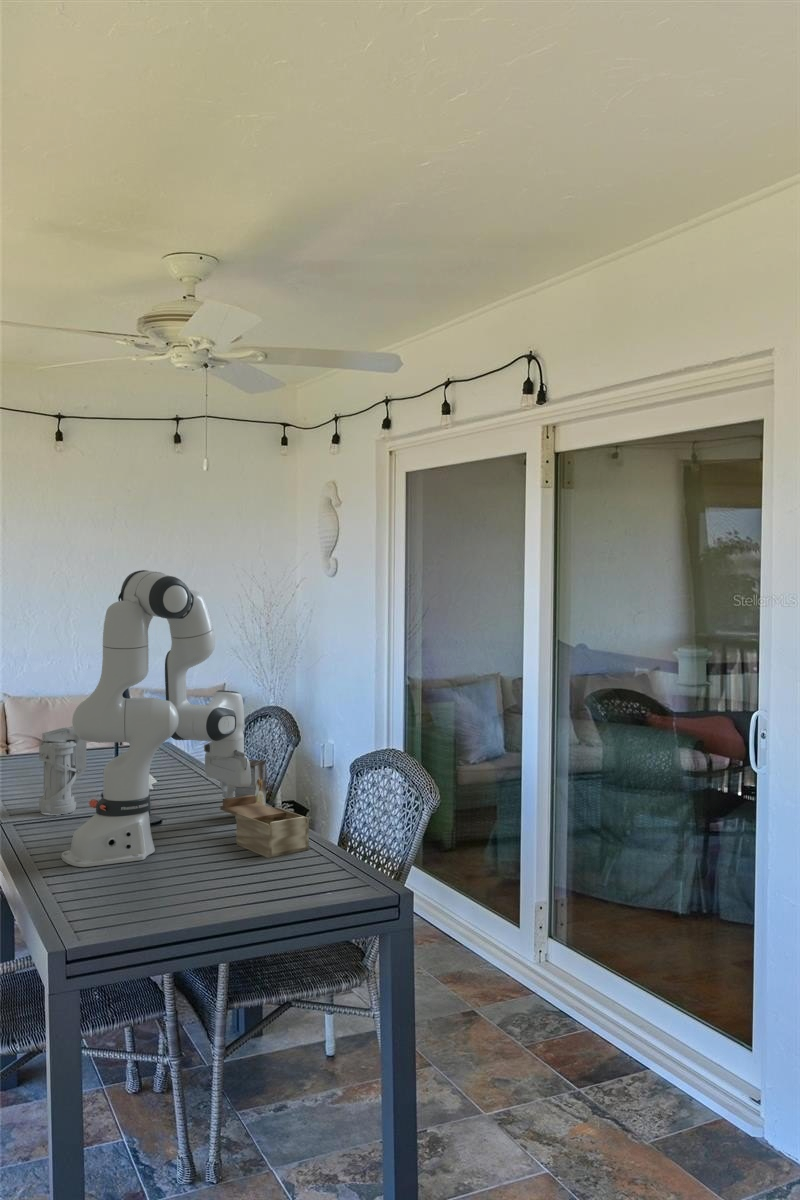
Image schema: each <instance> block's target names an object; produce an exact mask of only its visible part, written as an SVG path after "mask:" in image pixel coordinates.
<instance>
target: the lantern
mask: <svg viewBox="0 0 800 1200" xmlns="http://www.w3.org/2000/svg"><path fill="white" fill-rule="evenodd" d="M41 736H42V738H41V739H42V740H41V741H40V742H38V745H39V746H38V747H39V749H38V752H39V755H38V759H39V761H41V762H43V794H42V796H40V798H39V800H38V803H39V804H38V805H39V812H40V811H41V812H43V813H50V814H61V813H68V812H72V811H74V810H75V811H76V808H77V801H75V796H74V795H73V784H74V783H75V781H76V780H77V779H78V778H81V776H82V775H83V773H84V772H85V771H86V770H87V741H86V740H81V739H80V738H79V737H78V736H77V735H76V733H75V731H74V729H73V725H72V726H65V727H61V728H57V729H53V730H49V731H45V732H42V735H41ZM75 811H74V812H75ZM41 812H40V813H41Z"/></svg>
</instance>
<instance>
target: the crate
mask: <svg viewBox="0 0 800 1200" xmlns="http://www.w3.org/2000/svg"><path fill="white" fill-rule="evenodd" d="M274 809H277V810H280V811H283V812H286V816H280V817H274V818H268V819H262V820H256V819H253V818H250V817H248V816H245V815H242V814H240V813H237V820H236V845H238V846H240V847H242V848H245V849H246V850H249V851H252V852H254V853H255V854H259V855H260V856H262V857H266V858H268V859H269V858H274V857H279V856H284V855H285V856H286V855H289V854H294V853H300V852H306V851H309V850H310V848H309V847H310V843H309V842H310V839H309V837H310V836H309V835H310V831H309V830H310V829H309V828H310V821H309V820H310V818H309V817H307V816H304V815H301V814H298V813H296V812H292V811H290V810H287V809H283V808H281V807H278V806H275V807H274Z"/></svg>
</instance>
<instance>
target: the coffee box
mask: <svg viewBox="0 0 800 1200" xmlns="http://www.w3.org/2000/svg"><path fill="white" fill-rule="evenodd" d="M248 760H249V763H250V770H251V783H250V785H249V786H246V787H237V786H236V787H235V789H234V792H235V793H234V797H239V796H246V795H254V796H256V802H257V803H260V804H263V805H266V801H267V799H266V795H267V793H266V792H267V791H266V784H267V782H266V774H267V773H266V771H267V770H266V764H267V763H266V761H267V760H264V759H263V760H262V759H260V760H259V759H258V760H257V759H248ZM266 806H267V805H266ZM234 816H235V817H234V818H235V821H237V816H236V815H234Z"/></svg>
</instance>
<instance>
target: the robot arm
mask: <svg viewBox="0 0 800 1200" xmlns="http://www.w3.org/2000/svg"><path fill="white" fill-rule="evenodd" d="M117 600H118V601H115V602H113V603H111V604H110V605H109V606H108V607H107V609H106V610H105V611H106V612H105V616H104V617H105V618H104V622H103V630H102V631H103V632H102V663H101V665H102V666H101V675H100V678H99V681H98V683H97V686H96V687H95V689H94V690H93V692H92V693H91V694H90V695H89V696H88V697H87V698H86V699H84V700H82V702H80V703H79V704H78V705H77V707H76V708H75V710H74V712H73V715H72V722H71V723H72V726H73V729H74V731H75V733H76V735H77V736H78V737H79V738H80V739H81V740H86V742H92V743H93V742H94V743H99V744H101V743H128V744H129V748H128V749H127V750H126V751H125V752H123V753H121V754H119V755H117V756H116V757H114V758H112V759H111V760H109V761H108V762H107V763H106V764H105V766H104V768H103V772H102V773H103V774H102V775H103V777H102V778H103V779H102V782H103V783H102V784H103V787H102V788H103V789H102V791H103V793H102V794H103V795H102V797H101V799H99V800H97V799H95V798H92V799H90V800H89V801H88V806H89V807H91V808H93V809H95V814H94V815H92V816H91V817H90V818H89V819H88V820H87V821H85V822H84V823H83V824H82V825H81V826H79V827H78V828H77V829H76V830H75V831H74V832H73V835H72V839H71V845H70V849H68V850H65V851H63V852H62V853H61V857H60V858H61V859H62V861H63V862H64V863H66V864H68V865H69V866H73V867H79V868H88V867H90V868H91V867H95V866H105V865H113V864H120V863H121V864H122V863H129V862H137V861H143V860H145V859H146V858H147V857H148V856H150V855H151V854H153V853H155V851H156V847H155V844H154V842H153V836H152V831H151V830H152V829H151V821H150V816H151V808H152V807H151V804H152V803H151V795H150V794H149V789H150V787H149V786H150V785H149V784H150V770H151V765H152V761H153V759H154V757H155V754H156V752H157V751H158V750H159V748H160V747H161V746H162V745H163V744H164V743H165V742H166V741H167V740H168V739H170V738H171V739H172V740H175V741H199V742H207V743H205V744H203V751H204V752H205V754H204V772H205V774H206V777H208V778H211V779H214V780H216V781H219V785H220V789H221V791H222V793H221V794H222V798H223V799H226V798H232V797H234V792H235V787H236V786H237V787H246V786H249V785H250V783H251V770H250V763H249V760H250V759H248V757H247V756H246V753H245V735H244V731H243V729H244V728H243V727H244V724H245V706H244V700H243V697H242V696H243V695H242V694H241V693H240V692H238V691H233V690H223V689H222V690H216V691H215V692H214V694H213V698H212V700H210V701H209V702H208V703H206V704H195V703H194V704H193V703H191V702H190V701H189V700H188V699H187V696H188V695H187V673H188V670H189V669H191V668H193V667H195V666H198V665H199V664H202V663H203V662H205V661H206V660H208V659H209V657H210V656H211V655H212V654H213V652H214V650H215V647H216V637H215V636H216V635H215V632H214V626H213V622H212V621H213V620H212V617H211V614H210V610H209V607H208V604H207V602H206V599H205V597H204V595H203V594H202V593H201V592H199V591H197V590H193V589H189V587H188V586H187V584H186V583H185V582H184V581H182V580H181V579H180V578H177V577H176V576H172V575H168V574H165V573H164V572H161V571H152V570H146V569H145V570H144V569H141V570H137V571H133V572H132V573H130V574H129V575H127V577H126V578H125V579H124V581H123V582H122V585H121V589H120V593H119V595H118V597H117ZM154 617H159V618H162V619H166V620H167V622H168V625H169V634H170V638H171V640H170V641H171V644H170V645H171V646H170V650H169V651H168V652H167V653H166V655H165V660H164V684H165V686H164V687H165V688H164V689H165V699H163V698H162V699H161V698H156V697H155V698H154V697H141V698H140V697H138V698H136V697H135V698H126V697H124V696H123V694H124V692H125V691H126V690H127V689H130V688H131V687H134V686H135V685H138V684H140V683H141V682H142V681H144V680H145V679H146V677H147V676H148V674H149V628H150V624H151V621H152V619H153V618H154Z"/></svg>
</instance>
